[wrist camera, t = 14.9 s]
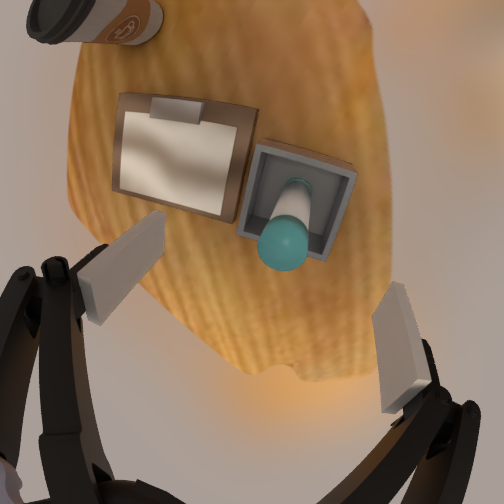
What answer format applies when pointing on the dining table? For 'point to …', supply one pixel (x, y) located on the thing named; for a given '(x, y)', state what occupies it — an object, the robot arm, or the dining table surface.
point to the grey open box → (305, 167)
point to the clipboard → (182, 152)
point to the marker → (287, 228)
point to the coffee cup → (94, 21)
